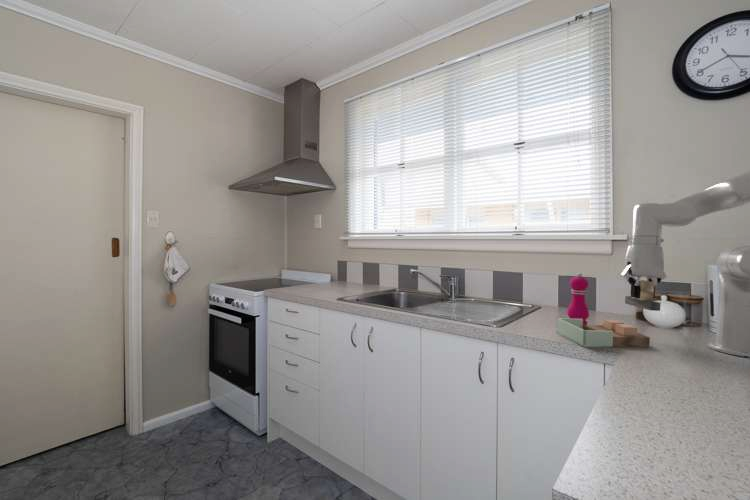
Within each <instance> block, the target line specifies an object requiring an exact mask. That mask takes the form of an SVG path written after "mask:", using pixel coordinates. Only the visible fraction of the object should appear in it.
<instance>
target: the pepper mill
mask: <svg viewBox="0 0 750 500" xmlns="http://www.w3.org/2000/svg"><path fill="white" fill-rule="evenodd" d="M569 287H571V292H570V293H571V294H572V298H571V299H572V300H571V302H570V304H569V306H568V308H567V311H566V312H567V313H566V315H567V317H569V319H583V325H588V321H587V319H589V317H590V312H589V309H588V306H587V304H586V294H587V290H586V289H587V288H588V287H589V282H588V280H587V279H586V278H585V277H583V274H582V273H581V272H578V273H577V274H576V277H573V278H571V280H570V282H569Z"/></svg>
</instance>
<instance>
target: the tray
mask: <svg viewBox="0 0 750 500" xmlns="http://www.w3.org/2000/svg"><path fill="white" fill-rule="evenodd" d="M556 333H557V334H558V335H561V336H562V337H563V338H566V339H567V340H570V341H571V340H572V341H571V342H573V343H575V344H577V345H578V346H581V347H583V348H611V347H613V331H592V330H583V319H570V318H558V317H557V318H556Z"/></svg>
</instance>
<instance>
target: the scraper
mask: <svg viewBox="0 0 750 500" xmlns="http://www.w3.org/2000/svg"><path fill="white" fill-rule="evenodd" d="M638 286H640V298H634V297H631V295H629V296H628V295H626V296H624V297H625V301H624V304H626V305H630V306H633V307H637V308H641V309H644V310H647V311H653V312H654V311H658V312H659V311H661V302H658V301H655V300H654V299H653V296H654V282H651V281H647V280H645V279H644V280H643V279H640V282H639V285H638ZM654 297H655V296H654Z"/></svg>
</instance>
